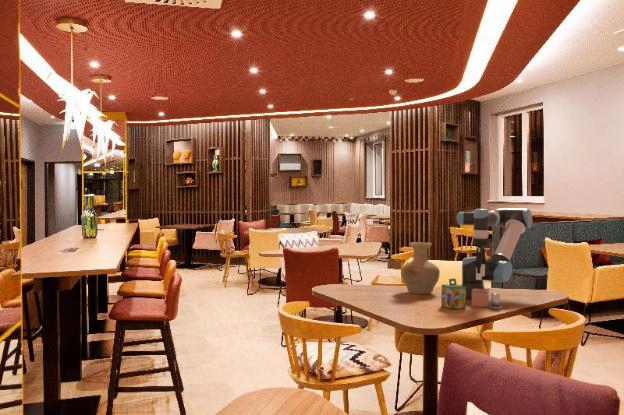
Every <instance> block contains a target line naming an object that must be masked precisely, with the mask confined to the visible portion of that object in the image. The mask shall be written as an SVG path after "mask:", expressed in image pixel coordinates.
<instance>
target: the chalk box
mask: <svg viewBox="0 0 624 415" xmlns="http://www.w3.org/2000/svg"><path fill="white" fill-rule="evenodd" d="M448 282H449V283H447V284H441V285H440V286H441V297H440V298H441V304H440V305H441V307H442V308H447V309H449V310H450V309H451V310H459V309H460V310H461V309H466V307H467V306H466V300H467V299H466V286H462V284H457V279H456V278H449V279H448ZM452 282H453V283H452Z"/></svg>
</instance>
